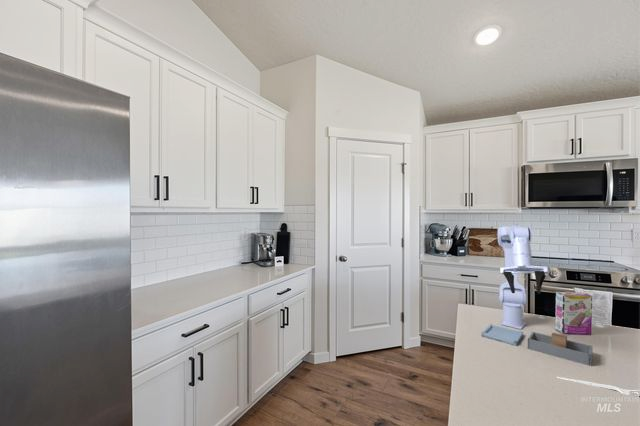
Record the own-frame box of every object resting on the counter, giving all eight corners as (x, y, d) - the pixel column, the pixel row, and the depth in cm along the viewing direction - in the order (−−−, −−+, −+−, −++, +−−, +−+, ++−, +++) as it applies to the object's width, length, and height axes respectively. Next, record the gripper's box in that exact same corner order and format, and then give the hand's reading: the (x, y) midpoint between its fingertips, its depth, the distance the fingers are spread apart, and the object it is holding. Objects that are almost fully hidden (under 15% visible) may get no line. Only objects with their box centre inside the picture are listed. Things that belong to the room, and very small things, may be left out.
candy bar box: (563, 334, 120) (563, 294, 120) (554, 329, 125) (554, 291, 125) (592, 335, 119) (592, 295, 118) (583, 330, 123) (583, 292, 123)
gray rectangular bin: (532, 340, 114) (532, 331, 114) (592, 356, 102) (592, 346, 102) (527, 348, 107) (527, 339, 107) (591, 365, 95) (591, 355, 95)
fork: (555, 377, 90) (555, 371, 90) (646, 394, 81) (645, 387, 81) (557, 382, 87) (557, 376, 87) (652, 401, 78) (652, 394, 78)
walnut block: (552, 348, 107) (552, 332, 107) (567, 352, 105) (567, 335, 105) (551, 352, 105) (551, 335, 105) (565, 356, 102) (565, 339, 102)
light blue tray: (490, 327, 127) (490, 324, 127) (523, 336, 118) (523, 332, 118) (481, 336, 118) (481, 332, 118) (516, 345, 110) (516, 341, 110)
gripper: (497, 254, 112) (499, 289, 106) (543, 251, 102) (548, 290, 97) (502, 260, 116) (504, 294, 111) (547, 258, 107) (552, 295, 101)
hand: (525, 292), depth 104 cm, fingers open, 7 cm apart
